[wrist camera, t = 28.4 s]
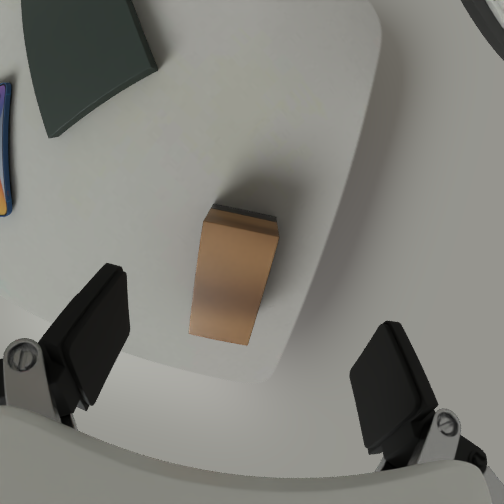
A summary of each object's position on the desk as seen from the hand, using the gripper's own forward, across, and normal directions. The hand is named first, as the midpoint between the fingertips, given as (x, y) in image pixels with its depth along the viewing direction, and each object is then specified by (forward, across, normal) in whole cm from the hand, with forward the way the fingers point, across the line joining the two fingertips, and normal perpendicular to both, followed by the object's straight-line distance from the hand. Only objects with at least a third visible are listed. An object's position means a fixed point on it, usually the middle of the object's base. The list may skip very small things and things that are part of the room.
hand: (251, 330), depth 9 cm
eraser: (+13, +1, +5) cm, 14 cm away
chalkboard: (+13, +21, -17) cm, 30 cm away
